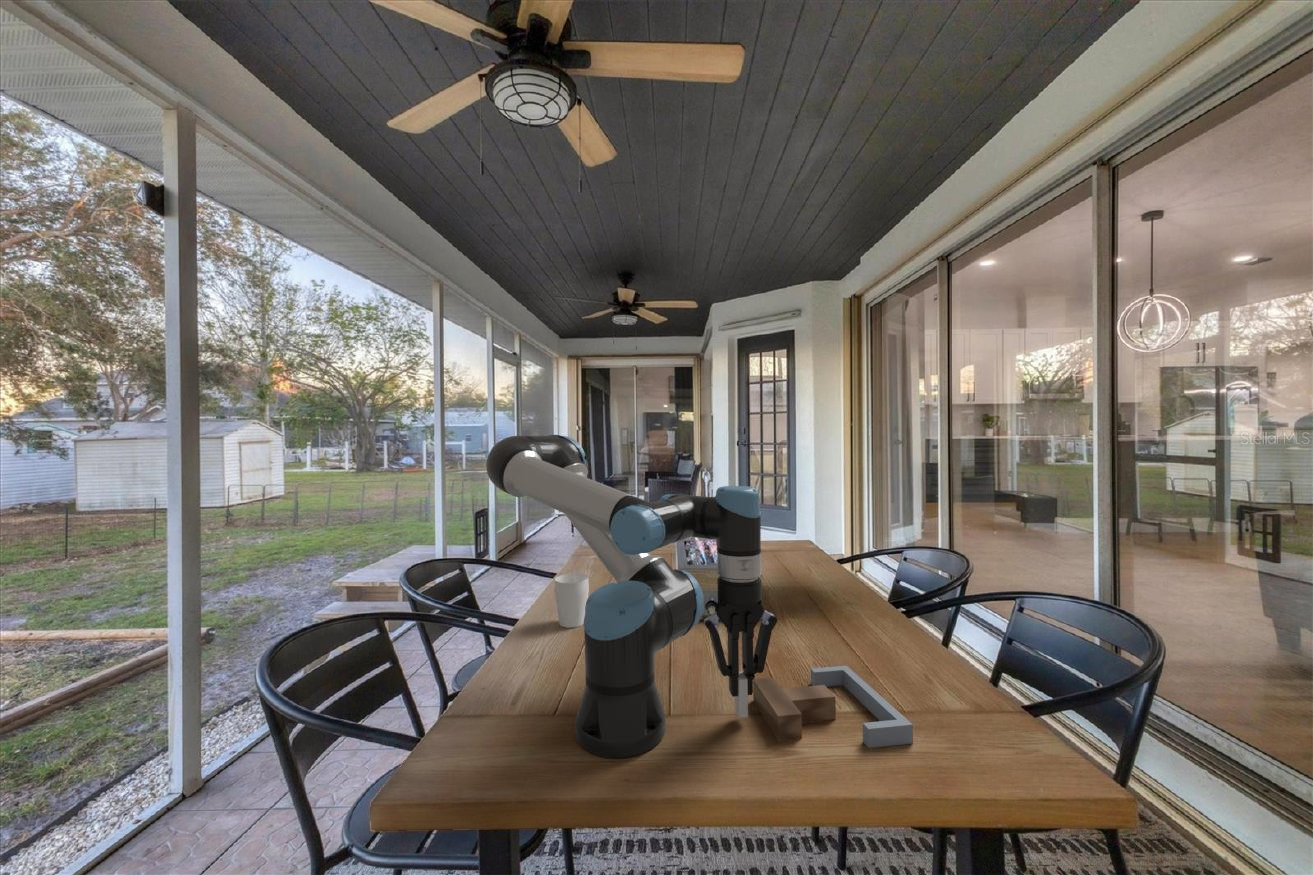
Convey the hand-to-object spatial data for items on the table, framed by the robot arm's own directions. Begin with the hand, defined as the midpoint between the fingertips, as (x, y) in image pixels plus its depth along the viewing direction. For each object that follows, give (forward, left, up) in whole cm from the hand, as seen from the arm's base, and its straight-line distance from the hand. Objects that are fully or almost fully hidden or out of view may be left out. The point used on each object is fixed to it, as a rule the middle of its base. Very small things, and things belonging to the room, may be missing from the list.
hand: (741, 713), depth 83 cm
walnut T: (+10, 0, -2) cm, 10 cm away
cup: (-31, +50, -2) cm, 58 cm away
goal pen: (+21, 0, -2) cm, 21 cm away
